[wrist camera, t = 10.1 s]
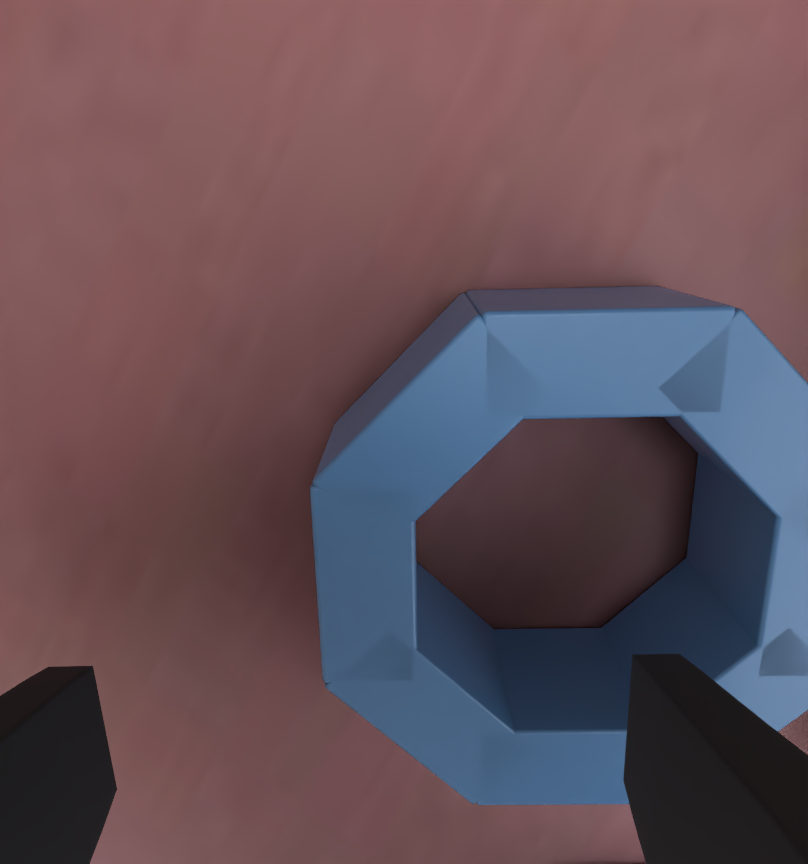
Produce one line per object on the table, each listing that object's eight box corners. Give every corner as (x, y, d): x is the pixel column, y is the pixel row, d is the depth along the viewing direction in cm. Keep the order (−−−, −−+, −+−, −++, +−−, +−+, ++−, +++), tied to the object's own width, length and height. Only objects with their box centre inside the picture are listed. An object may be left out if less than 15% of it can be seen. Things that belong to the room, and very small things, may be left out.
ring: (744, 688, 17) (825, 804, 14) (346, 692, 17) (329, 808, 14) (803, 282, 14) (926, 302, 11) (324, 292, 14) (297, 315, 11)
